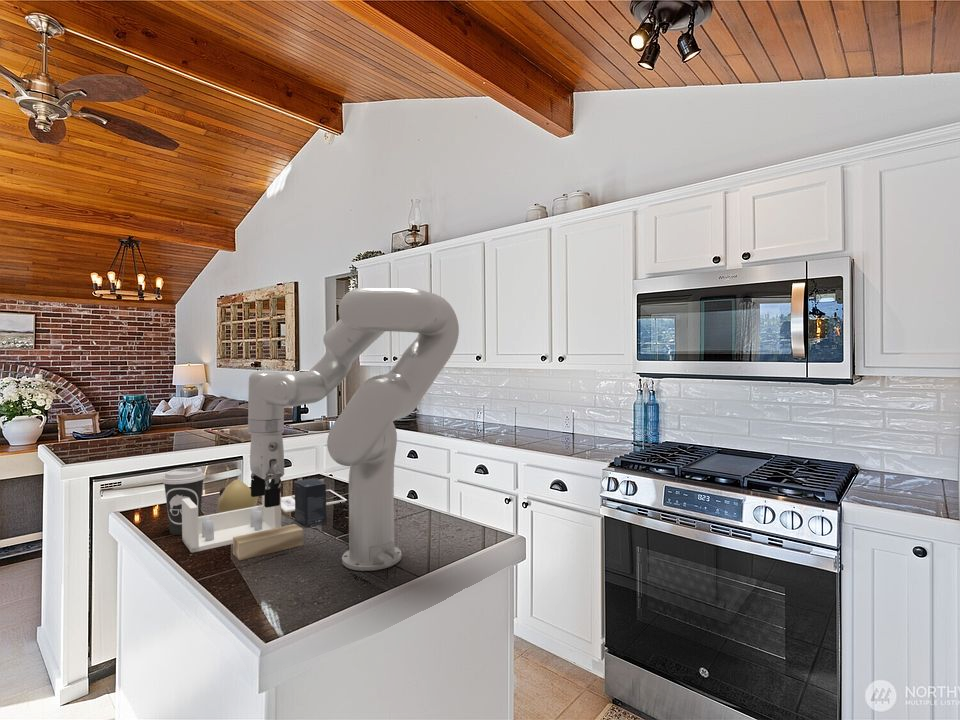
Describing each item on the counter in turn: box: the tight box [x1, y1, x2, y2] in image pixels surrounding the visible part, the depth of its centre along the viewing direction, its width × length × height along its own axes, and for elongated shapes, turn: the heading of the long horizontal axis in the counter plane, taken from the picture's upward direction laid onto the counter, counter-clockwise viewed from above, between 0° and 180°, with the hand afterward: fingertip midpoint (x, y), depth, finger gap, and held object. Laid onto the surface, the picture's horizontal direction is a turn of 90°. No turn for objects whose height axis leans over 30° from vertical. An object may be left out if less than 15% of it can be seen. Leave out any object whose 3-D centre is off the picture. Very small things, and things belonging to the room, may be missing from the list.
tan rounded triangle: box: [217, 479, 259, 513], centre depth 144 cm, size 10×12×11 cm
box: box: [294, 478, 327, 528], centre depth 140 cm, size 8×6×11 cm
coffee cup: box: [161, 467, 206, 536], centre depth 134 cm, size 10×10×15 cm
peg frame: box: [181, 492, 282, 554], centre depth 129 cm, size 10×20×10 cm, turn 130°
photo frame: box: [281, 489, 348, 513], centre depth 160 cm, size 15×1×18 cm
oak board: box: [232, 523, 304, 561], centre depth 121 cm, size 5×14×4 cm, turn 130°
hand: (265, 500), depth 121 cm, fingers open, 9 cm apart
